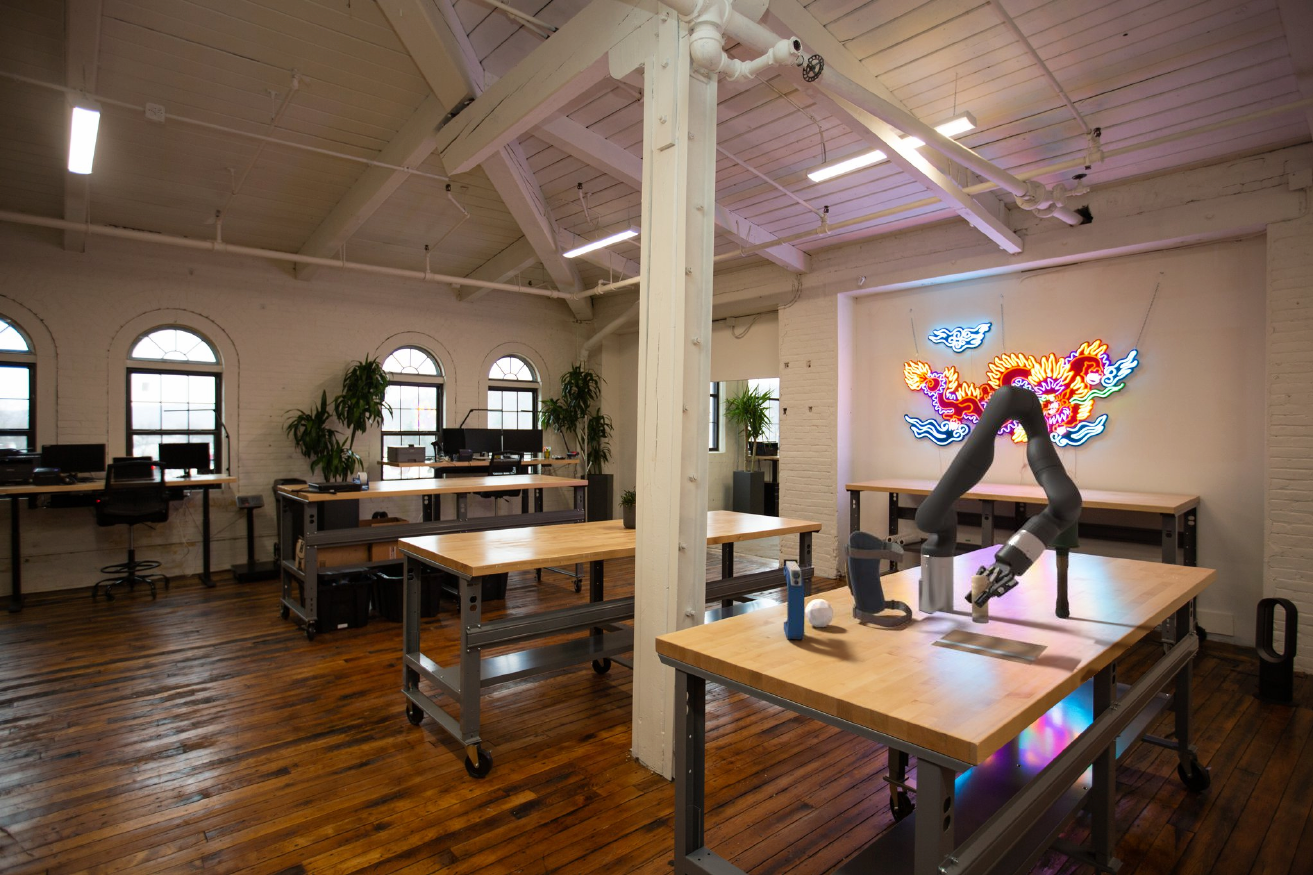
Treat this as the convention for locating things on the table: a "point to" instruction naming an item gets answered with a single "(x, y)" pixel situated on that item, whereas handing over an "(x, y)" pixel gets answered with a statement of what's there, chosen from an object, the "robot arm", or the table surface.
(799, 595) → the handheld scanner
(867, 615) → the knee pad
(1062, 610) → the potato masher grenade
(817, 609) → the ball
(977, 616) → the tan round-topped cylinder
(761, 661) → the table surface
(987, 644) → the board
